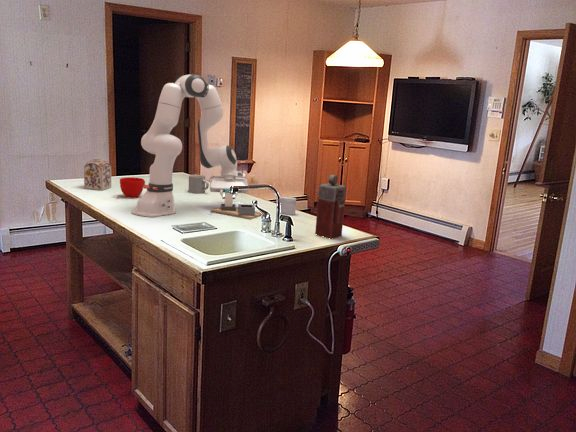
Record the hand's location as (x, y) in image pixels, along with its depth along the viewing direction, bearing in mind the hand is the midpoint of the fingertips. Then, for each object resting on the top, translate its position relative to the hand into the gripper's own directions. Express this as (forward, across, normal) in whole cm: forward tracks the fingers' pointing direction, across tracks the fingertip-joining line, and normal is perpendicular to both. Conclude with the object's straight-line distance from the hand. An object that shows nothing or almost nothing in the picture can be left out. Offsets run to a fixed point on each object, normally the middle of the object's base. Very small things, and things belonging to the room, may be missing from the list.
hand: (228, 198), depth 274 cm
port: (+10, +9, -2) cm, 14 cm away
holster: (+4, 0, +5) cm, 6 cm away
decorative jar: (-31, -76, +41) cm, 91 cm away
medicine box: (+6, +31, +4) cm, 32 cm away
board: (+8, +4, +2) cm, 9 cm away
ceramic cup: (-16, -52, +26) cm, 61 cm away
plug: (+4, 0, +5) cm, 6 cm away
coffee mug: (-30, -16, +40) cm, 53 cm away
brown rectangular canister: (+36, +45, -26) cm, 63 cm away
